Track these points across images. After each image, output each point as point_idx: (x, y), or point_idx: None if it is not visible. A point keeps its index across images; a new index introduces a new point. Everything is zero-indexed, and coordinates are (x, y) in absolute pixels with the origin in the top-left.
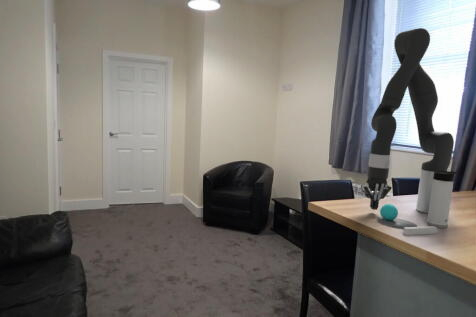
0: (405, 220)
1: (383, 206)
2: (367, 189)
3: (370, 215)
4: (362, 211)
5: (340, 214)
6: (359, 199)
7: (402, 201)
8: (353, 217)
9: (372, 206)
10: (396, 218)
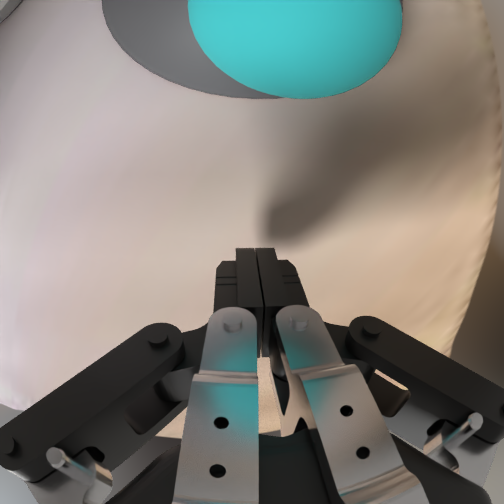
0: (117, 13)
1: (397, 27)
2: (484, 404)
3: (339, 183)
4: (317, 286)
5: (485, 233)
6: (164, 432)
7: (3, 377)
8: (475, 168)
9: (292, 270)
10: (155, 59)
